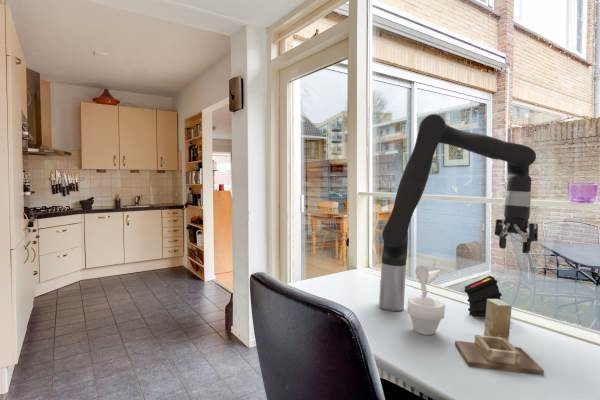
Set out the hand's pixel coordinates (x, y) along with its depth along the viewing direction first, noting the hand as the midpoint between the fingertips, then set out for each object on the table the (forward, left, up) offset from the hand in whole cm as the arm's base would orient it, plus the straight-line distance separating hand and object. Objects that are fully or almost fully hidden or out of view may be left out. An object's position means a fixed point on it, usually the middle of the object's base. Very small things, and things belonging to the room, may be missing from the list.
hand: (513, 250), depth 122 cm
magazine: (-7, +6, -27) cm, 28 cm away
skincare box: (-10, -16, -27) cm, 32 cm away
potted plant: (-31, -15, -27) cm, 43 cm away
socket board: (-15, -29, -26) cm, 42 cm away
